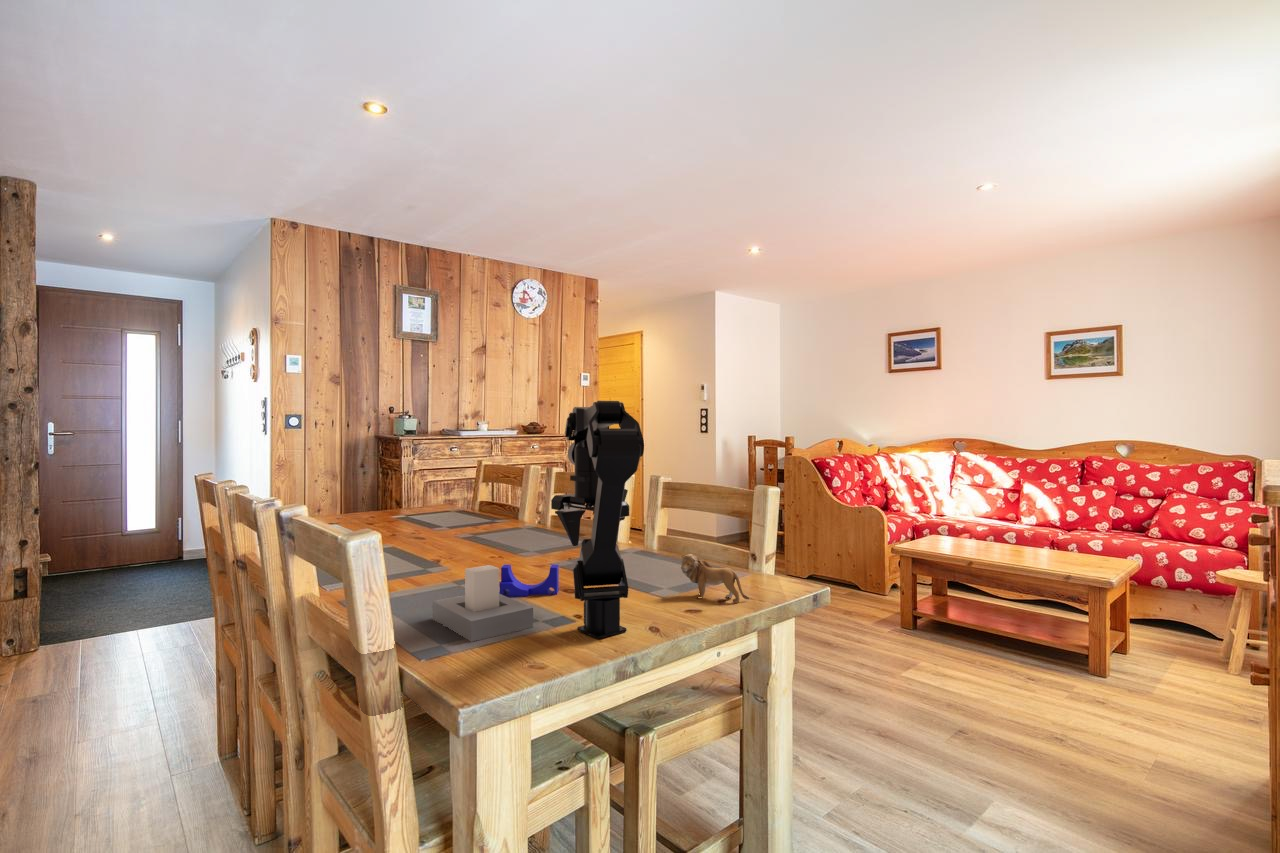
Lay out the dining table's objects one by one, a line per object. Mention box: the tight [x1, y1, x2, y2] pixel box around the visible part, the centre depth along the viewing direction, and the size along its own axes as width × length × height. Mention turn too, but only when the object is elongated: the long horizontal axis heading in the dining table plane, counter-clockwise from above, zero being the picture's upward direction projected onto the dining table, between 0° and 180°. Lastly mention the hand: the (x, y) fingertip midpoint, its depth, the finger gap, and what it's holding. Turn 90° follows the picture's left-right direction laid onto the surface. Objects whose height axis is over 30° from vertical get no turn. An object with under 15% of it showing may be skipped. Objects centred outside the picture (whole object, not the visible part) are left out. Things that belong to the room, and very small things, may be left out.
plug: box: [464, 564, 500, 612], centre depth 117 cm, size 4×5×9 cm
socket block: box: [432, 593, 534, 643], centre depth 117 cm, size 16×12×4 cm
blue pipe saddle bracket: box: [499, 564, 560, 598], centre depth 137 cm, size 12×4×6 cm, turn 90°
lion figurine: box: [680, 553, 750, 604], centre depth 134 cm, size 15×5×9 cm, turn 71°
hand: (588, 549), depth 125 cm, fingers open, 9 cm apart
